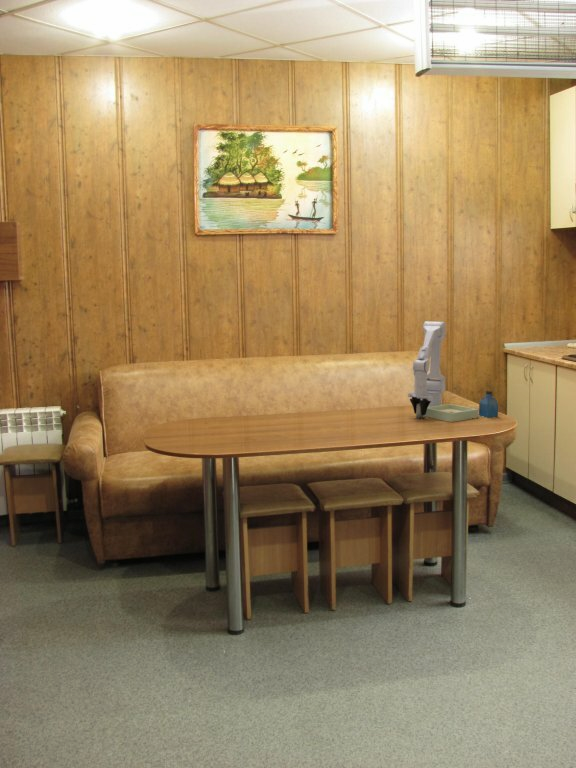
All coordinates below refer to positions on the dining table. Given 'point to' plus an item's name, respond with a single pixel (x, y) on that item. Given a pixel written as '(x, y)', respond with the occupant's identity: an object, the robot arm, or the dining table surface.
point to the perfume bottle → (488, 406)
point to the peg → (419, 411)
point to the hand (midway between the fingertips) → (420, 414)
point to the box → (451, 412)
